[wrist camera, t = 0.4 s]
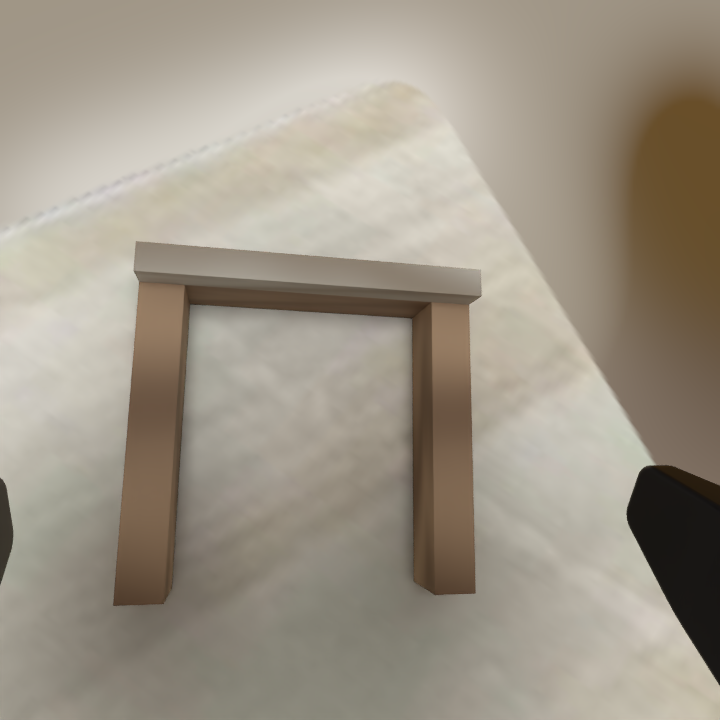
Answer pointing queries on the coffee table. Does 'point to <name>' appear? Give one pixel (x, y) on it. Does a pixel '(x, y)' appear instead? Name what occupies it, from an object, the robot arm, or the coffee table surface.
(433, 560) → the frame
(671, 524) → the robot arm
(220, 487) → the coffee table surface
